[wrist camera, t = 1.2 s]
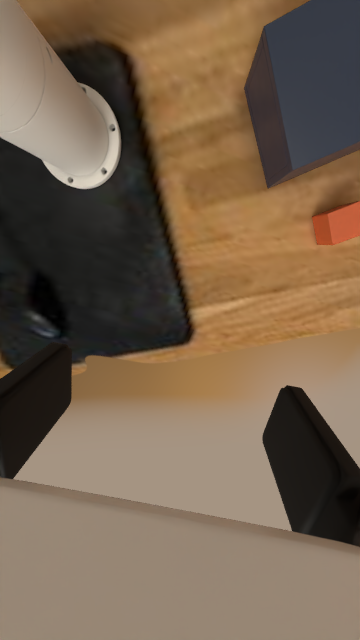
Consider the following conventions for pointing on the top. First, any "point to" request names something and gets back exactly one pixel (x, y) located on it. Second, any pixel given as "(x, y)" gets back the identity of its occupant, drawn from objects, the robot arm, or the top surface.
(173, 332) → the top surface
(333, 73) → the cabinet
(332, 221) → the block
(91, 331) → the top surface
